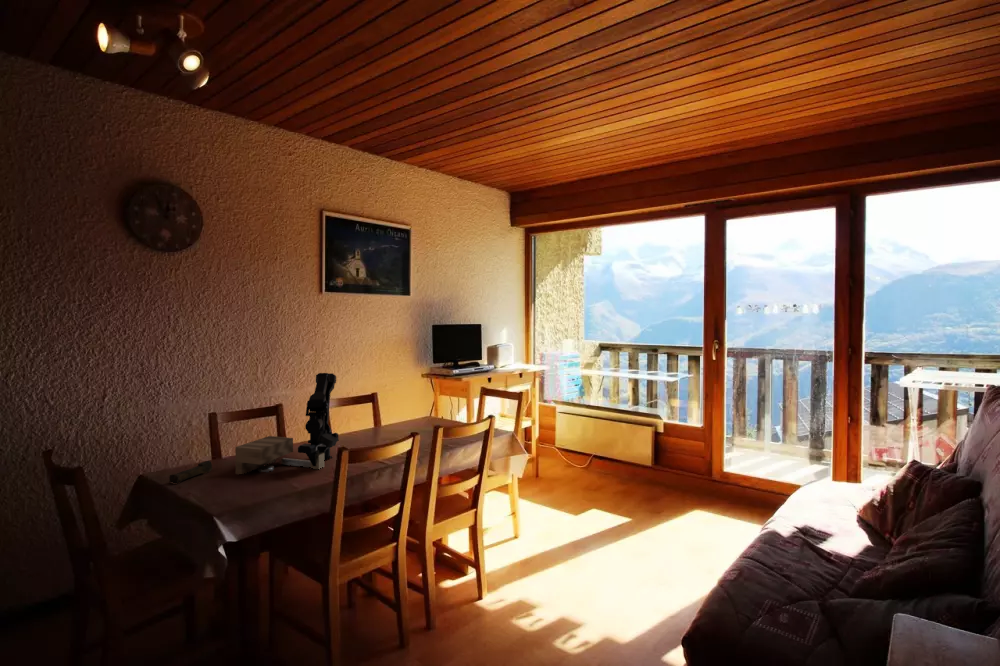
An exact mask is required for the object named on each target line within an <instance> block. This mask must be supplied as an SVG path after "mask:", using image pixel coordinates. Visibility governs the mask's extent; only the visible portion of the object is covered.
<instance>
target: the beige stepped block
mask: <svg viewBox="0 0 1000 666" xmlns="http://www.w3.org/2000/svg"><path fill="white" fill-rule="evenodd" d="M291 453H294V437H284V436H275V435H268V436H265V437H262V438H259V439H256V440H253V441H250V442H247V443H243V444H240V445H238V446H237V445H236V446H235V453H234V454H235V475H239V474H243V475H245V474H248V473H250V472H253V471H255V470H258V469H257V468H259V467H261V466H264V465H265V466H267V464H268V465H270V464H272V462H273V463H275V462H276V459H278V458H281V457H284V456H287V455H290V454H291ZM269 463H270V464H269ZM252 470H253V471H252ZM249 471H250V472H249ZM247 472H248V473H247ZM244 473H245V474H244Z"/></svg>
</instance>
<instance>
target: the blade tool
mask: <svg viewBox="0 0 1000 666" xmlns="http://www.w3.org/2000/svg"><path fill="white" fill-rule="evenodd" d="M280 462H281V465H283V466H290V465H291V466H292V467H300V466H303V467H302V468H309V467H311V468H313V469H312V470H318V469H319V470H321V469H323V468H325V461H324V453H321V452H318V453H317V459H316V466H313V465H312V463H311V461H310V459H300V458H299V459H297V458H287V457H282V458H281V461H280ZM322 467H323V468H322ZM311 468H310V469H311ZM320 468H321V469H320Z"/></svg>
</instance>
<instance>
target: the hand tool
mask: <svg viewBox="0 0 1000 666" xmlns="http://www.w3.org/2000/svg"><path fill="white" fill-rule="evenodd" d="M212 470H213V464H212V462H211V461H210V460H205V461H202V462H199V463H198V464H197V466H194V467H192V468H188V469H187V470H183V471H179V472H177V473H174V474H170V475H169V479H168V480H169V483H170V482H173V483H177V484H178V482H180V483H181V482H183V481H187V480H188V479H191V478H193V477H197V476H198V475H205V474H204V473H206V474H208V473H209V472H211V471H212ZM207 472H208V473H207Z"/></svg>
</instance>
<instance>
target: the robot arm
mask: <svg viewBox="0 0 1000 666" xmlns="http://www.w3.org/2000/svg"><path fill="white" fill-rule="evenodd" d="M315 383H316V384H315V388H314V393H312V394H311V395H310V396H309V399H308V400H307V403H306V409H305V417H309V419H308V420H307V421H306V423H305V431H307V434H309V439H308V440H307V443H303V444H300V445H299V446H298V447H297V454H298V453H299V454H305V455H306V456H307V458H308V460H310V461H311V463H312V465H313V466H316V459H317V453H318V452H321V453H324V460H326V461H328V460H330V459H329V458H331V459H333V458H332V456H333V455H331V448H332V447H335V446H336V445H337V442H338V441H339V433H338V432H332V428H331V426H330V424H329V419H330V416H329V415H330V404H331V393H332V392H333V390H334V389H335V385H336V383H337V375H336V374H334V373H333V372H332V373H328V372H319V373H317V374H315ZM327 459H328V460H327Z"/></svg>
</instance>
